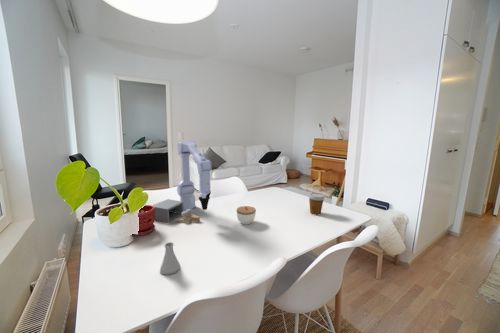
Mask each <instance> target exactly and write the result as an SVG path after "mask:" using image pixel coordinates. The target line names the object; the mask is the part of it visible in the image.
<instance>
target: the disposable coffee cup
mask: <svg viewBox="0 0 500 333" xmlns="http://www.w3.org/2000/svg"><path fill="white" fill-rule="evenodd" d="M308 199H309V201H308V202H309V212H310V214H311V215H313V214H316V215H315V216H319V215H318V214H320V215H321V213H322V210H323V203H324V200H325V195H324V194H322V193H316V192H311V193H309V195H308Z"/></svg>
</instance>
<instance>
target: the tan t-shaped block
mask: <svg viewBox="0 0 500 333" xmlns="http://www.w3.org/2000/svg"><path fill="white" fill-rule="evenodd" d="M176 219H177V223H183V224H189V223H191V222H193V223H197V224H198V223H199V222H201V217H200V216H198V215H194V214H192V209H188V210H186V211H184V212H182V214H181V216H180V217H178V218H176Z"/></svg>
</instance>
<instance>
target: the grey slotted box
mask: <svg viewBox="0 0 500 333" xmlns="http://www.w3.org/2000/svg"><path fill="white" fill-rule="evenodd" d="M151 206H154V207H155V221H156V220H157V221H160V222H165V223H166V222H167V223H169V222H170V213H174V212H176V213H175V214H179V213H181V214H180V215H182V212H185V210H184V205H183V202H182V201H180V200H174V199H169V198H167V199H165V200H161V201H160V202H157V203H155V204H153V205H151ZM169 211H171V212H169Z"/></svg>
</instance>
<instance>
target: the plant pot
mask: <svg viewBox="0 0 500 333" xmlns="http://www.w3.org/2000/svg"><path fill="white" fill-rule="evenodd" d="M144 205H145V204H144ZM142 210H143V211H144V212H143V213H142V212H141V211H142ZM138 217H139V231H138V235H137V236H144V235H147V234H149V233H152V232H153V231H154V230H155V228H156V224H155V221H156V220H155V207H154V206H152V205H149V204H146V205H145V206H144V207H143V208H141V209H140V210H139V213H138Z"/></svg>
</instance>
